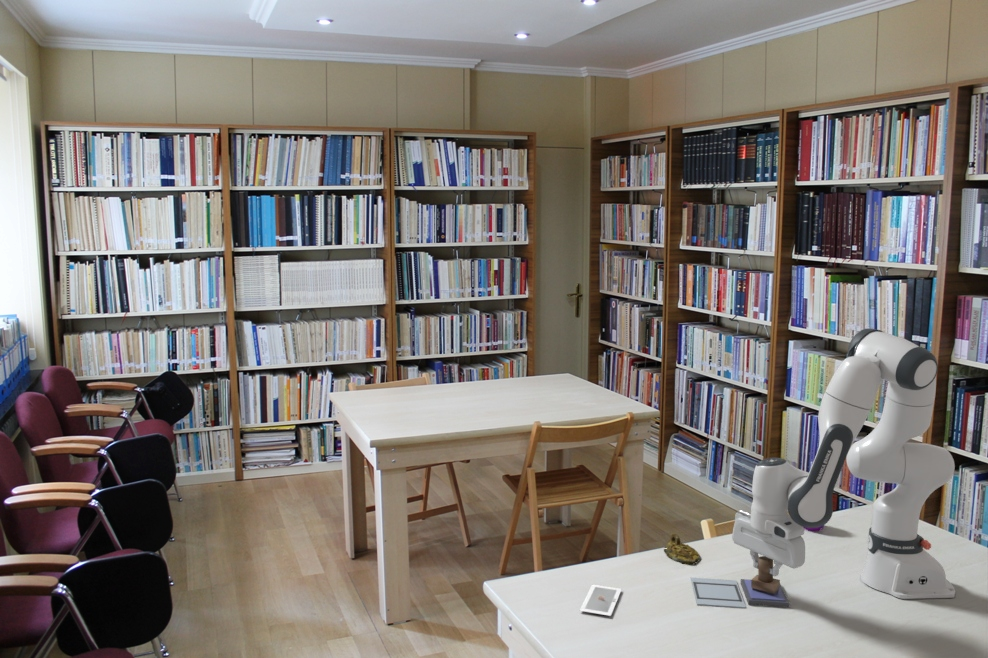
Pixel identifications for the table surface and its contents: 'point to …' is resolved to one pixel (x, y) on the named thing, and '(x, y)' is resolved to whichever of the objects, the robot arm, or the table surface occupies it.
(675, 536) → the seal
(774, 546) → the robot arm
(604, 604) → the touchpad
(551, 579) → the table surface
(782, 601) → the ink pad
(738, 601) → the marked card
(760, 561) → the stamp
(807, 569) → the table surface
